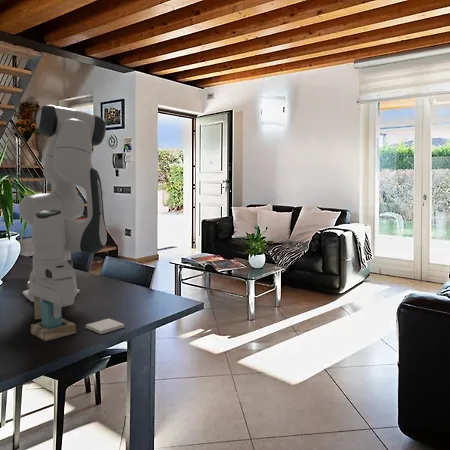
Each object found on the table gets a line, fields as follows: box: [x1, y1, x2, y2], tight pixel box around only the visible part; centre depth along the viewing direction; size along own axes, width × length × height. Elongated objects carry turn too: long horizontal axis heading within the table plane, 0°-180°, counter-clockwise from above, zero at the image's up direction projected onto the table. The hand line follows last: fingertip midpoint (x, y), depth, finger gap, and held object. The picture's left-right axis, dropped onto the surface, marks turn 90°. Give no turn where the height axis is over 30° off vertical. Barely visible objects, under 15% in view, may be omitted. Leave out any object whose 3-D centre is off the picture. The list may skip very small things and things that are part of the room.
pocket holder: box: [30, 318, 77, 342], centre depth 124 cm, size 9×9×2 cm
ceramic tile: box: [85, 318, 125, 335], centre depth 129 cm, size 8×8×1 cm
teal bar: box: [41, 301, 63, 329], centre depth 124 cm, size 4×4×8 cm
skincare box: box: [33, 296, 42, 320], centre depth 139 cm, size 6×4×12 cm
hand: (51, 315), depth 124 cm, fingers closed on teal bar, 4 cm apart
